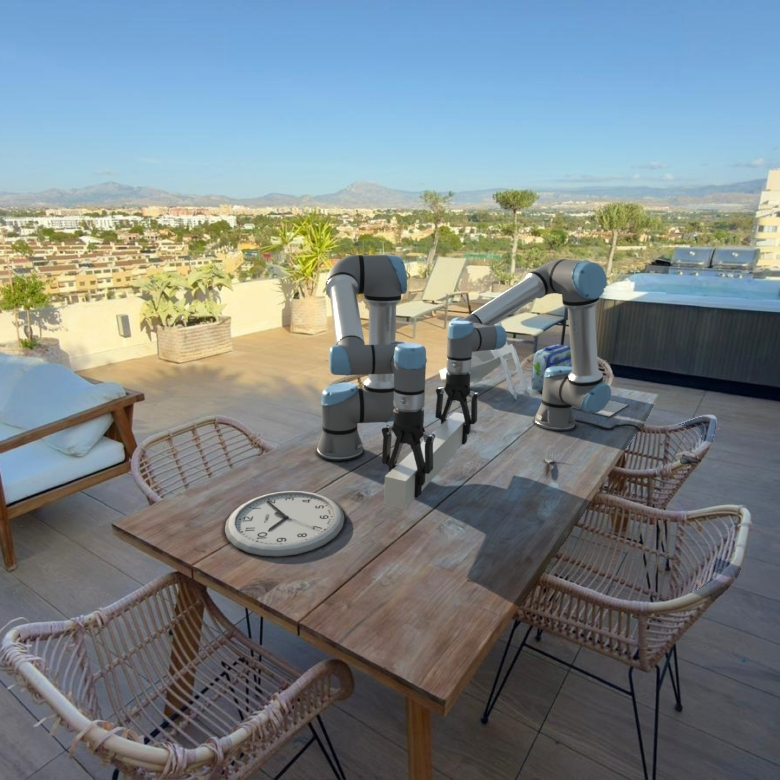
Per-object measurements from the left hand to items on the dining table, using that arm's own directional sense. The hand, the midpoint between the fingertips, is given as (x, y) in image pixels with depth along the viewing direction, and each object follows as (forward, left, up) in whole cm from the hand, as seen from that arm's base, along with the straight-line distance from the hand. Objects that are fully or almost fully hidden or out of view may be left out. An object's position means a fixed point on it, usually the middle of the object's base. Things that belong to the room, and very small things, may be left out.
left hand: (406, 492), depth 134 cm
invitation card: (-52, +117, -8) cm, 128 cm away
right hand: (-26, +29, 0) cm, 39 cm away
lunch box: (-80, +114, -8) cm, 140 cm away
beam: (-13, +15, -1) cm, 20 cm away
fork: (-12, +56, -8) cm, 58 cm away
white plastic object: (-88, +79, -8) cm, 118 cm away
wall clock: (-10, -29, -8) cm, 32 cm away
